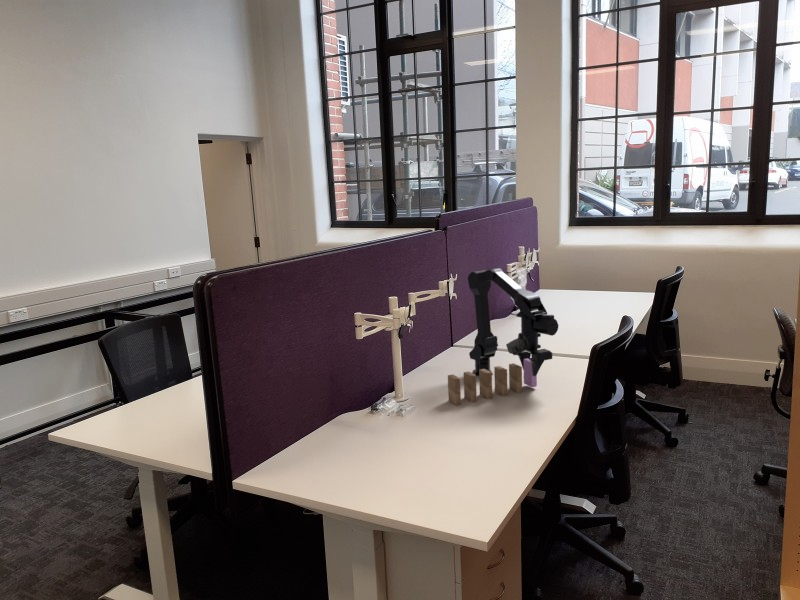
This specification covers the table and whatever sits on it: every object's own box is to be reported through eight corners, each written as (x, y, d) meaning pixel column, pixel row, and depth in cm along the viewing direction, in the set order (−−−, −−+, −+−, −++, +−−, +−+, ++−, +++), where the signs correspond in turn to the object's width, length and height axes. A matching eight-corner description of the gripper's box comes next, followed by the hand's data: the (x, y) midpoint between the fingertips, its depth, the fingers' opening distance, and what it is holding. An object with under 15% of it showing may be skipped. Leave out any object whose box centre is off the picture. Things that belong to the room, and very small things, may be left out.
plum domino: (528, 382, 218) (528, 358, 217) (536, 386, 214) (536, 361, 212) (523, 383, 218) (523, 359, 216) (531, 387, 213) (531, 362, 211)
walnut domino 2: (469, 396, 210) (468, 371, 208) (476, 401, 205) (476, 375, 203) (464, 397, 209) (463, 372, 207) (471, 402, 204) (470, 376, 203)
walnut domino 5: (514, 387, 216) (513, 363, 214) (522, 391, 212) (521, 366, 210) (509, 388, 215) (508, 364, 214) (517, 392, 211) (516, 367, 209)
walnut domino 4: (499, 390, 214) (499, 365, 212) (507, 394, 209) (507, 369, 208) (494, 391, 213) (494, 366, 212) (502, 395, 209) (502, 370, 207)
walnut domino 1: (453, 399, 207) (453, 374, 206) (460, 404, 203) (460, 378, 201) (448, 400, 207) (447, 375, 205) (455, 405, 202) (454, 379, 200)
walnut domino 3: (484, 393, 212) (484, 368, 210) (492, 397, 207) (491, 372, 205) (479, 394, 211) (479, 369, 209) (487, 398, 206) (486, 373, 205)
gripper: (495, 328, 217) (496, 370, 220) (525, 339, 200) (525, 385, 203) (521, 324, 222) (522, 365, 224) (553, 335, 205) (553, 379, 207)
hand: (530, 373), depth 215 cm, fingers open, 5 cm apart
